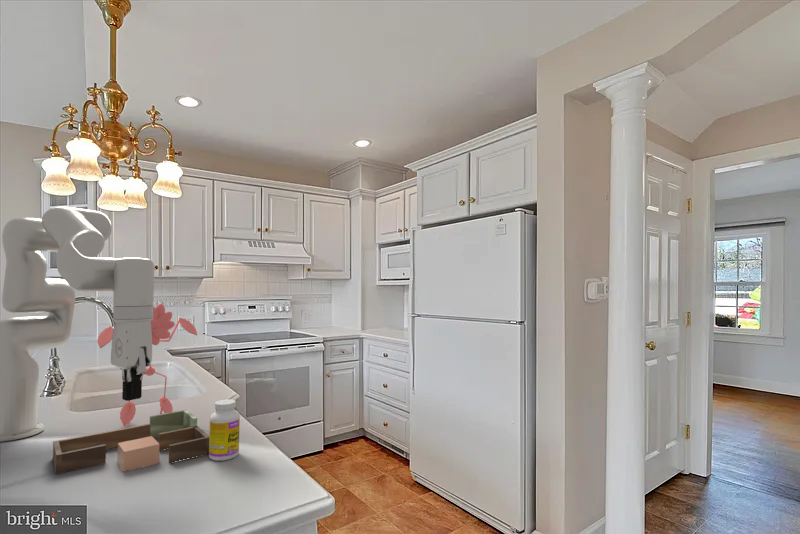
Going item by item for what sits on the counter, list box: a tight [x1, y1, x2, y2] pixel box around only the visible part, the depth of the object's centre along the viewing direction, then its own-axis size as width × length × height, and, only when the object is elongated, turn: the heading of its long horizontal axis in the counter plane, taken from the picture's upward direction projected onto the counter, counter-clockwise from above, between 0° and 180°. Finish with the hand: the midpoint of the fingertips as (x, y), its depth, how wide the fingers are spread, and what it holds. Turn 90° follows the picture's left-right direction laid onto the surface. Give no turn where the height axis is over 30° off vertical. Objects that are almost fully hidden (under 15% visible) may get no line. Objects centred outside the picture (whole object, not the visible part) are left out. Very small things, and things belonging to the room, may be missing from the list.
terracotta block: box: [116, 436, 160, 473], centre depth 101 cm, size 7×7×4 cm
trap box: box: [52, 409, 210, 475], centre depth 104 cm, size 21×29×6 cm
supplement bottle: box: [208, 398, 241, 462], centre depth 104 cm, size 7×7×13 cm
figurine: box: [96, 303, 198, 427], centre depth 129 cm, size 15×26×35 cm, turn 133°
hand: (131, 398), depth 95 cm, fingers closed
